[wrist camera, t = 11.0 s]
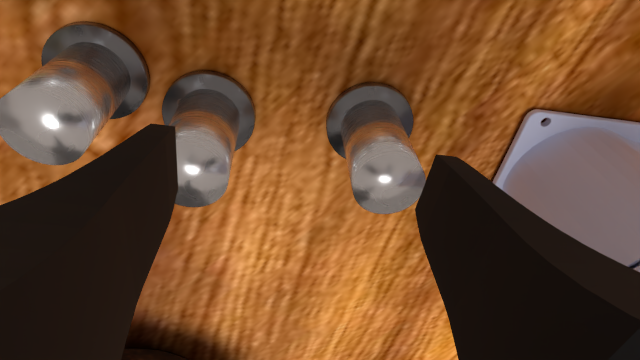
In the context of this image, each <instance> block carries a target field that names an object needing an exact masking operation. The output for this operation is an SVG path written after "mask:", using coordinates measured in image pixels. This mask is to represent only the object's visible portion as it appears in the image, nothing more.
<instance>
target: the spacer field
mask: <svg viewBox="0 0 640 360" xmlns="http://www.w3.org/2000/svg"><path fill="white" fill-rule="evenodd" d="M149 84H150V77H149V71H148V68H147V65H146V62H145V60H144V58H143V56H142V55H141V53H140V52H139V50H138V49H137V48H136V46H135V45H134V44H133V43H132V42H131V41H130V40H129V39H127V38H126V37H125V36H124V35H122V34H121V33H119V32H117V31H116V30H114V29H112V28H110V27H107V26H105V25H102V24H98V23H93V22H76V23H72V24H69V25H66V26H64V27H63V28H61V29H59V30H58V31H56V32H55V33H54V34H52V35H51V36H50V37H49V39H48V40H47V41H46V43H45V45H44V48H43V51H42V67H41V68H40V69H39V70H37V71H36V72H35V73H33V74H32V75H31V76H29V77H28V78H27V79H26V80H24V81H23V82H22V83H20V84H19V85H18V86H16V87H15V88H14V89H12V90H11V91H10V92H9V93H7V94H6V95H5V96H3V97H2V98H1V99H0V135H1V137H2V138H3V139H4V140H5V142H6V143H7V144H8V145H9V146H10V147H11V148H13V149H14V150H15V151H17V152H18V153H20V154H21V155H23V156H25V157H26V158H28V159H31V160H33V161H36V162H39V163H43V164H49V165H64V164H68V163H71V162H74V161H76V160H77V159H79V158H80V157H81V156H82V155H83V154H84V152H85V151H86V150H87V148H88V147H89V146H90V144H91V143H92V142H93V140H94V139H95V137H96V136H97V135H98V133H99V132H100V131H101V129H102V128H103V127H104V125H105V124H106V123H107V121H108V120H109V119H116V118H121V117H124V116H127V115H129V114H131V113H132V112H134V111H135V110H136V109H137V108H138V107H139V106H140V105H141V103H142V102H143V100H144V99H145V97H146V95H147V93H148V90H149ZM162 115H163V120H164V123H165V125H167V126H175V132H176V153H177V174H178V192H177V196H176V200H175V204H178V205H181V206H186V207H201V206H206V205H209V204H212V203H214V202H215V201H217V200H218V199H219V198H220V197H221V196H222V195H223V194H224V193H225V191H226V189H227V185H228V180H229V175H230V170H231V165H232V160H233V155H234V151H236V150H238V149H239V148H241V147H242V146H243V145H244V144H245V143H246V142H247V141H248V139H249V138H250V136H251V134H252V132H253V128H254V122H255V109H254V105H253V102H252V100H251V97H250V96H249V94H248V92H247V91H246V90H245V89H244V88H243V87H242V86H241V85H240V84H239V83H238V82H237V81H235V80H234V79H232V78H231V77H229V76H227V75H224V74H222V73H218V72H214V71H195V72H191V73H188V74H186V75H184V76H182V77H180V78H179V79H177V80H176V81H175V82H174V83H173V84H172V86H171V87H170V88H169V90H168V92H167V94H166V96H165V98H164V101H163V105H162ZM326 128H327V135H328V139H329V142H330V144H331V145H332V147H333V148H334V150H335V151H336V152H337V153H338V154H339V155H341V156H342V157H344V158H346V160H347V165H348V170H349V174H350V179H351V184H352V189H353V194H354V197H355V199H356V201H357V202H358V204H359V205H360V206H361V207H363V208H364V209H366V210H368V211H370V212H373V213H378V214H390V213H395V212H399V211H402V210H404V209H406V208H408V207H409V206H411V205H412V204H413V203H415V202H416V201H417V200H418V198H419V197H420V196H421V193H422V190H423V188H424V185H425V182H426V180H425V174H424V171H423V169H422V167H421V165H420V162H419V160H418V158H417V156H416V154H415V151H414V149H413V147H412V145H411V143H410V141H409V137H410V134H411V132H412V128H413V115H412V111H411V108H410V106H409V104H408V102H407V100H406V99H405V97H404V96H403V95H402V94H401V93H400V92H399V91H398V90H397V89H395V88H393V87H391V86H389V85H386V84H383V83H376V82H370V83H362V84H359V85H356V86H353V87H351V88H349V89H347V90H346V91H344V92H343V93H342V94H341V95H339V96H338V97H337V98H336V100H335V101H334V102H333V104H332V106H331V107H330V109H329V112H328V115H327V120H326Z"/></svg>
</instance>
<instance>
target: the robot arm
mask: <svg viewBox="0 0 640 360" xmlns="http://www.w3.org/2000/svg"><path fill="white" fill-rule="evenodd" d="M544 118H547V119H546V121H545V122H543V123H541V121H542V120H543V119H544ZM177 192H178V174H177V153H176V132H175V126H167V125H158V124H150V125H148V126H146V127H145V128H143V129H142V130H140V131H139V132H137V133H136V134H134V135H133V136H131V137H130V138H128V139H127V140H125V141H124V142H122V143H120V144H119V145H117V146H116V147H114V148H113V149H111V150H110V151H108V152H107V153H105V154H103V155H102V156H100V157H99V158H97V159H95V160H93V161H92V162H90V163H88V164H86V165H85V166H83V167H81V168H79V169H78V170H76V171H74V172H72V173H71V174H69V175H67V176H65V177H63V178H61V179H60V180H58V181H56V182H53V183H51V184H49V185H47V186H45V187H43V188H41V189H39V190H36V191H34V192H32V193H30V194H28V195H25V196H23V197H21V198H18V199H16V200H13V201H11V202H8V203H5V204H3V205H0V360H121V358H122V354H123V351H124V347H125V343H126V340H127V336H128V333H129V329H130V326H131V322H132V319H133V315H134V312H135V308H136V305H137V302H138V299H139V296H140V293H141V291H142V288H143V285H144V283H145V281H146V278H147V276H148V273H149V271H150V268H151V266H152V264H153V261H154V259H155V256H156V254H157V252H158V249H159V247H160V244H161V242H162V239H163V237H164V234H165V232H166V229H167V227H168V224H169V222H170V219H171V215H172V212H173V208H174V204H175V200H176V196H177ZM415 212H416V217H417V223H418V228H419V233H420V237H421V241H422V244H423V247H424V250H425V253H426V255H427V258H428V261H429V264H430V267H431V269H432V272H433V275H434V277H435V280H436V283H437V286H438V288H439V291H440V294H441V297H442V299H443V302H444V305H445V308H446V311H447V314H448V318H449V321H450V325H451V329H452V334H453V338H454V342H455V346H456V350H457V355H458V359H459V360H640V122H632V121H624V120H617V119H609V118H601V117H594V116H586V115H578V114H571V113H563V112H555V111H547V110H540V109H535V110H532V111H530V112H529V113H527V115H526V116H525V118H524V120H523V122H522V124H521V126H520V128H519V130H518V132H517V134H516V136H515V138H514V140H513V142H512V144H511V146H510V148H509V150H508V152H507V154H506V156H505V158H504V160H503V162H502V164H501V166H500V168H499V170H498V172H497V174H496V176H495V178H494V180H493V182H491V181H490V180H488V179H487V178H486V177H485V176H483V175H482V174H481V173H479V172H478V171H477V170H475V169H474V168H472V167H471V166H470V165H468V164H467V163H465V162H464V161H462V160H461V159H459V158H457V157H453V156H444V155H436V156H435V159H434V161H433V164H432V167H431V169H430V172H429V175H428V177H427V180H426V182H425V185H424V188H423V190H422V193H421V196H420V198H419V201H418V203H417V206H416V209H415Z"/></svg>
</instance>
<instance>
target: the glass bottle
mask: <svg viewBox="0 0 640 360" xmlns="http://www.w3.org/2000/svg"><path fill="white" fill-rule="evenodd" d="M121 360H187V359H185V358H183V357H180V356H178V355H175V354H172V353H168V352H163V351H159V350H152V349H124V351H123V354H122V358H121Z"/></svg>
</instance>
